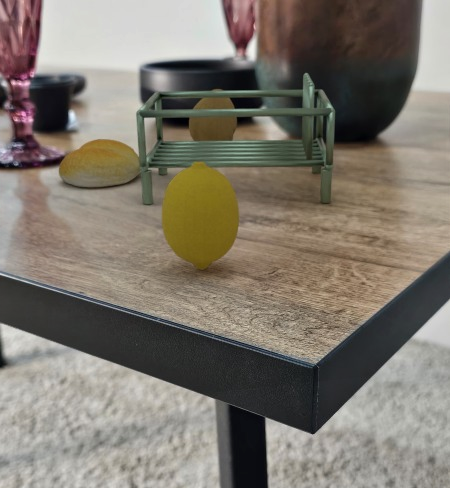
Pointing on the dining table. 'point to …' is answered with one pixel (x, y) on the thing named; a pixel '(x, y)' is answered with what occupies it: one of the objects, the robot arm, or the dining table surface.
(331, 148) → the dish rack
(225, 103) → the potato
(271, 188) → the dining table surface
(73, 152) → the bread roll
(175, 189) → the lemon
